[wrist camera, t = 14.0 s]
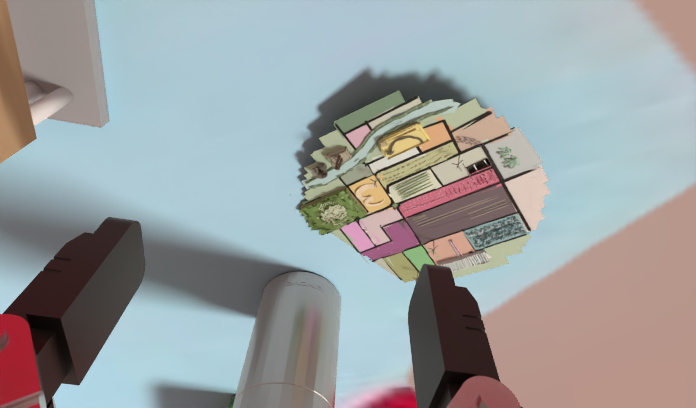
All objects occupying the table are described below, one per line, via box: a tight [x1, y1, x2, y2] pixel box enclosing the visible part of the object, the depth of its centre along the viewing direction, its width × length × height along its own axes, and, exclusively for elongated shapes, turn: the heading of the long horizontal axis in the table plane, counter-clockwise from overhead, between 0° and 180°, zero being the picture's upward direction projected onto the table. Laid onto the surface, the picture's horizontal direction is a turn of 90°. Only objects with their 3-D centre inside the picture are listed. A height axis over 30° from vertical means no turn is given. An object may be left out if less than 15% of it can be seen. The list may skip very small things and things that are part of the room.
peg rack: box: [6, 0, 109, 127], centre depth 33 cm, size 16×8×8 cm, turn 170°
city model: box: [299, 90, 551, 283], centre depth 43 cm, size 25×23×6 cm
